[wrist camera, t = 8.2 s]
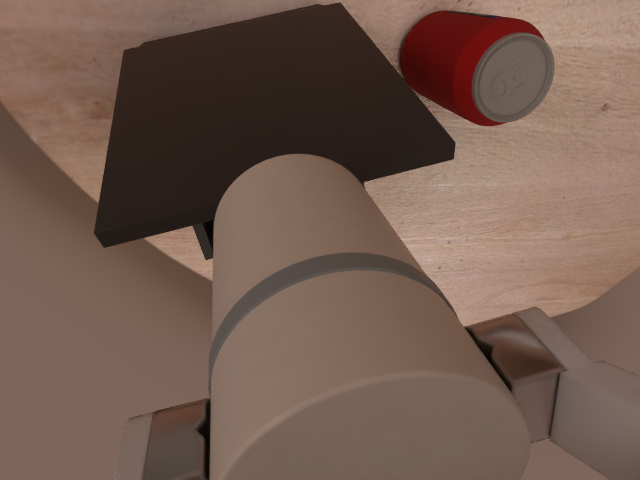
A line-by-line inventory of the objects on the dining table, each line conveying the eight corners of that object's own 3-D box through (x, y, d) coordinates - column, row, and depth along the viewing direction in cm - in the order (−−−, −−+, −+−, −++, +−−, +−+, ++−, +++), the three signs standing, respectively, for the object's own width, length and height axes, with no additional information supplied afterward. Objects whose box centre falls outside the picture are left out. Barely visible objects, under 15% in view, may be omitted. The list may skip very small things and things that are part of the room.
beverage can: (482, 68, 40) (574, 98, 30) (414, 109, 40) (482, 152, 30) (457, -8, 36) (552, -4, 26) (384, 38, 37) (449, 59, 27)
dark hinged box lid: (454, 159, 18) (456, 142, 17) (103, 248, 17) (93, 233, 16) (341, 15, 29) (340, 1, 28) (129, 62, 28) (123, 49, 27)
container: (215, 300, 16) (213, 611, 8) (207, 150, 13) (193, 393, 5) (363, 291, 17) (489, 557, 9) (383, 151, 14) (583, 354, 6)
